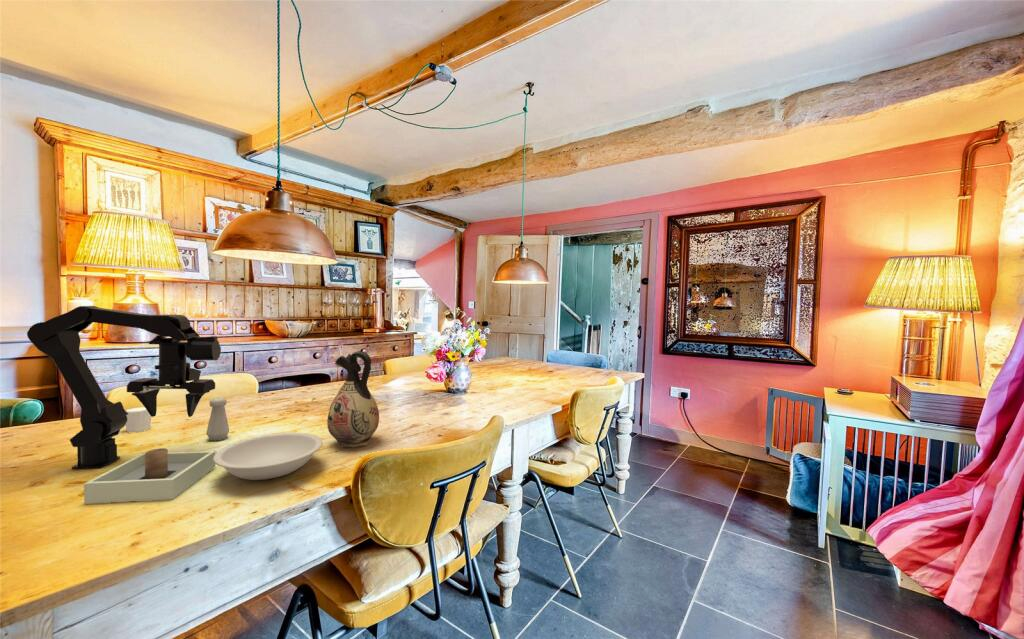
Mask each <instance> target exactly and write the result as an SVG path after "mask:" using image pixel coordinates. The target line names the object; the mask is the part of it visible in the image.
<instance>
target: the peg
mask: <svg viewBox="0 0 1024 639" xmlns="http://www.w3.org/2000/svg"><path fill="white" fill-rule="evenodd" d="M168 451H169V450H168V448H165V447H164V448H163V447H162V448H154V449H149V450H147V451H146V452H145V479H165V478H166V477H168V453H169V452H168Z"/></svg>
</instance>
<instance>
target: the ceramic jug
mask: <svg viewBox="0 0 1024 639" xmlns="http://www.w3.org/2000/svg"><path fill="white" fill-rule="evenodd" d="M358 359H361V360H363V365H364V366H363V369H362V368H361V366H360V363H358ZM334 365H336V366H339V367H341V368H342V369H344V370H345V371H346V372H347V376H346V380H345V381H344V383H343V384H342V386H341V387H340V389H338V391H337V393H336V395H335V397H334V398H333V400H332V402H331V403H330V406H329V411H328V412H327V413H328V414H327V419H326V424H327V425H326V426H327V430H328V432H329V434H330V435H331V436H332V437H333V438H334V439H335V440H336V442H337V443H338V446H339V445H340V446H339V447H341V446H343V447H342V448H345V447H352V448H358V446H359V447H364V446H367V445H368V444H369V443H370V442H371V437H372V436H373V435H374V434H375V433H376V431H377V429H378V427H379V423H380V411H379V408H378V405H377V402H376V399H375V398H374V396H373V394H372V393H371V391H370V390H369V388H368V380H369V378H370V374H371V371H372V370H371V369H372V360H371V356H370V355H369V354H368V353H367V352H365V351H361V350H359V351H355V352H352V353H348V355H347V356H343V355H341V356H339V357H338V358H337V359H336V361H335V362H334ZM362 370H363V371H362ZM361 371H362V375H361V377H360V372H361ZM366 444H367V445H366Z"/></svg>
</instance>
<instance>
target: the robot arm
mask: <svg viewBox="0 0 1024 639" xmlns="http://www.w3.org/2000/svg"><path fill="white" fill-rule="evenodd" d="M93 323H96V324H103V325H110V326H111V325H113V326H119V327H126V328H132V329H133V328H134V329H141V330H144V331H146V332H149V333H150V334H155V335H156V336H155V337H154V338H152V339H151V340H149V341H148V345H158V364H157V365H156V364H155V365H154V369H155V370H158V378H157V377H156V378H154V377H153V378H147V377H145V378H144V377H143V378H139V379H134V380H130V381H129V382H128V383H127V384H126V393H131V395H132V396H133V397H134V396H135V397H136V398H137V400H139V402H140V403H141V404H142V405H143V407H145V408H146V410H147V411H148V413H149V414H150V415H151V418H153V417H156V416H157V410H158V409H157V403H158V402H157V398H158V397H157V396H158V394H159V392H160V390H163V389H164V390H186V392H188V393H186V394H185V395H184V396H185V404H186V405H185V406H186V413H187V417H188V418H191V417H193V415H194V414H195V412H196V409H197V407H198V405H199V402H200V401H201V399H202V397H203V396H204V395H205V394H208V393H211V391H213V390H215V389H216V382H215V381H214V379H211V378H209V379H207V378H200V377H201V374H202V370H199V369H197V368H196V369H195V368H191V362H187V359H189V360H190V361H218V360H219V358H220V357H221V353H222V347H221V345H220V341H219V340H218V336H215V335H212V336H200V334H199V333H198V332H197V331H196V330H195V329H194V328H193V327H192V325H191V322H190V319H189V318H188V317H187V316H186V315H184V314H183V315H182V314H148V313H147V314H146V313H139V312H132V311H125V310H119V309H118V310H117V309H112V308H110V309H109V308H103V307H98V306H96V305H80V306H76V307H75V308H73V309H71V310H69V311H68V312H65V313H62V314H59V315H57V316H55V317H52V318H50V319H48V320H45V321H42V322H41V321H40V322H37V323H34V324H32V325H31V326H30V328H29V329H28V331H26V336H27V339H28V340H29V341H30V342H31V344H32V345H33V346H34V347H35V348H36V349H37V350H38V351H40V352H41V353H43V354H44V355H46V356H48V357H49V358H51V359H52V360H53V362H54V363H55V366H56V368H57V370H58V371H59V372H60V374H61V376H62V378H63V380H64V381H65V384H66V385H67V386H68V388H69V390H70V392H71V394H72V395H73V397H74V398H75V400H76V402H77V404H78V405H79V407H80V418H79V423H80V425H81V428H82V429H81V430H80V431H79V432H77V433H76V434H75V435H73V437H71V438H70V439H69V441H70V445H71V446H72V447H73V448H77V451H76V452H77V455H76V456H77V458H76V459H77V463H76V464H75V465H73V466H71V469H72V470H75V469H76V470H77V469H78V470H79V469H98V468H99V469H100V468H103V467H105V466H108V465H110V464H111V463H113V462H115V461H117V460H119V459H121V456H120V455H119V456H118V445H117V443H116V438H115V437H116V436H118V435H119V433H120V431H121V429H123V428H124V427H126V422H127V416H126V415H128V413H127V412H126V411H125V410H126V409H124V408H125V407H124V405H123V403H122V402H121V401H117V402H115V403H114V402H112V401H110V400H109V399H108V398H107V397H106V396H105V393H104V392H103V390H102V389H101V387H100V385H99V383H98V381H97V380H96V378H95V376H94V374H93V373H92V371H91V369H90V367H89V366H88V364H87V363H86V360H85V359H84V357H83V355H82V353H81V351H80V346H81V337H80V333H81V332H82V331H84V330H86V329H88V328H89V327H90V325H91V326H92V324H93Z"/></svg>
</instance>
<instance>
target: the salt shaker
mask: <svg viewBox="0 0 1024 639" xmlns="http://www.w3.org/2000/svg"><path fill="white" fill-rule="evenodd" d="M227 402H228V401H227V398H225V397H215V398H212V399H210V400H209V407H212V408H211V412H210V414H209V416H210V417H209V419H208V425H207V428H206V432H205V433H206V436H207V438H208V439H209V441H210V440H215V441H214V442H217V441H216V440H219V441H222V440H221V439H223V440H225V439H227V436H228V435H229V433H230V427H229V422H228V417H227V412H226V407H225V406H227ZM224 438H225V439H224Z"/></svg>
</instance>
